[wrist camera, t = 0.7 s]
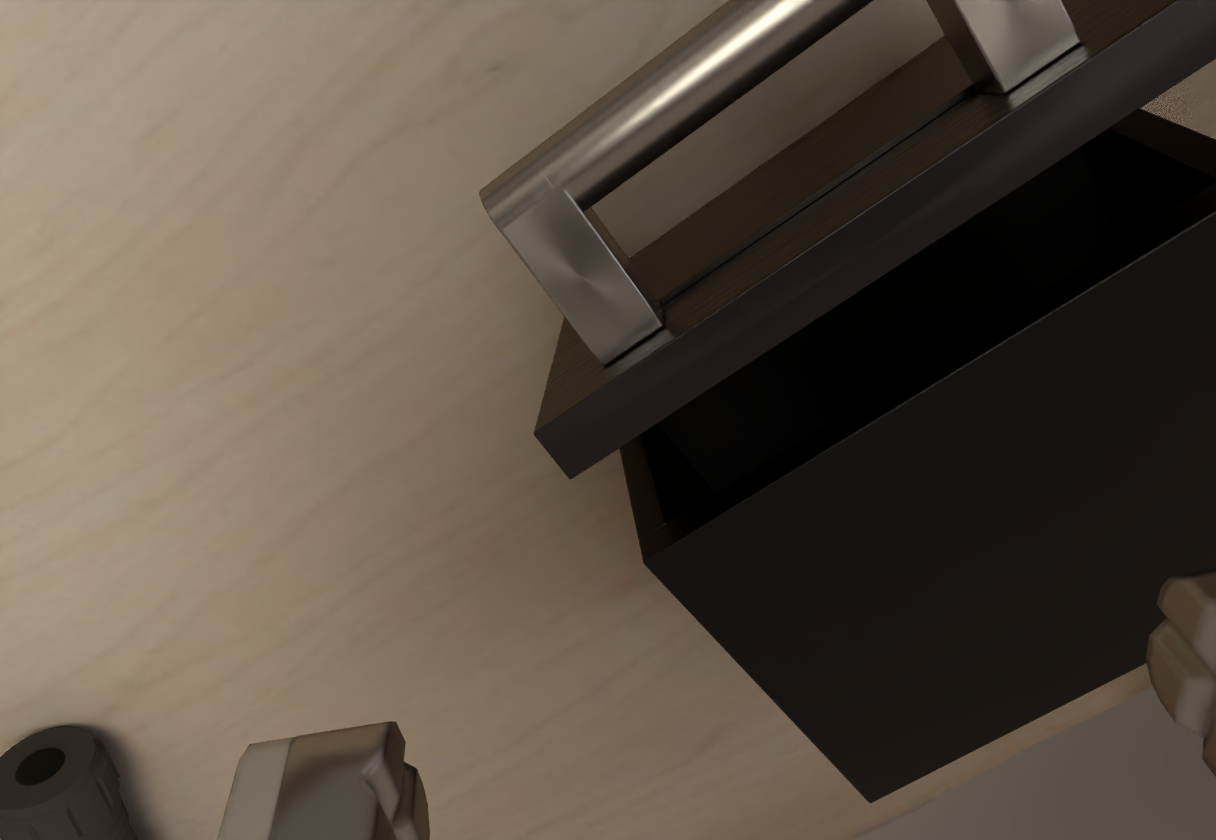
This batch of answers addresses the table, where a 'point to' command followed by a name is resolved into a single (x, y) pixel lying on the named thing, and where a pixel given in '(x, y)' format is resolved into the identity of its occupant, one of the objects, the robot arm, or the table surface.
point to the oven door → (804, 185)
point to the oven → (962, 467)
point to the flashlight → (61, 789)
